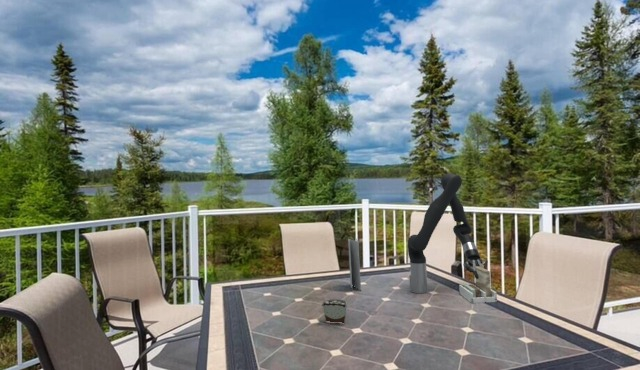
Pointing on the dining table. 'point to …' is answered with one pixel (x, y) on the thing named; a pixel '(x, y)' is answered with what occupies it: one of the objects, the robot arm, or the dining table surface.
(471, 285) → the grey green block
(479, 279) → the grey green board
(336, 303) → the food container
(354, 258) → the dark grey tall slab
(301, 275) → the dining table surface
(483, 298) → the rack
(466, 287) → the sage offcut board
